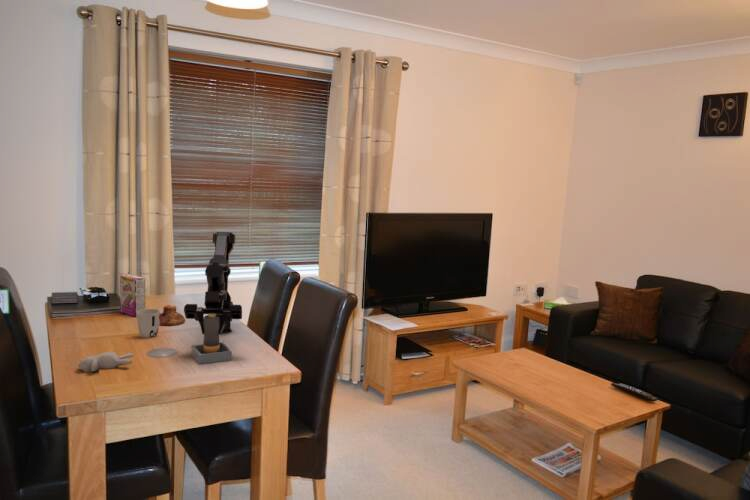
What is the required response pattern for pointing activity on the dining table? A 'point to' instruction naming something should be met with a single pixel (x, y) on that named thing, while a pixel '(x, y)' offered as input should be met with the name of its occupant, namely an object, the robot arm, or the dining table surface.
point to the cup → (148, 322)
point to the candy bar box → (132, 294)
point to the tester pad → (162, 353)
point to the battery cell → (211, 333)
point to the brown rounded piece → (171, 317)
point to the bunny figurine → (103, 361)
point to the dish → (211, 354)
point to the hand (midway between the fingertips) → (211, 333)
